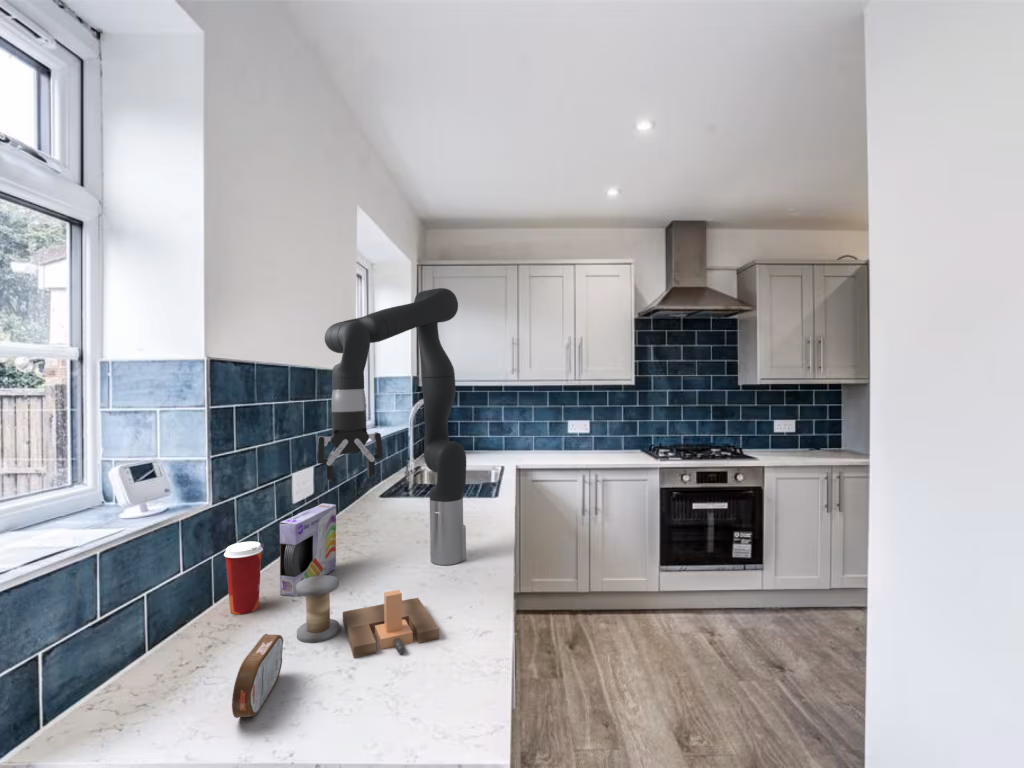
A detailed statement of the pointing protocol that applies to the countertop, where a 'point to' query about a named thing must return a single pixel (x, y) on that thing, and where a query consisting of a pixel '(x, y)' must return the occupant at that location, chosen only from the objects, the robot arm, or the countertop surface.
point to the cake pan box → (307, 546)
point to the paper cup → (243, 576)
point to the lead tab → (393, 624)
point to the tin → (257, 676)
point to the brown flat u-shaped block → (365, 620)
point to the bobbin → (317, 609)
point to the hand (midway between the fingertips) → (350, 479)
